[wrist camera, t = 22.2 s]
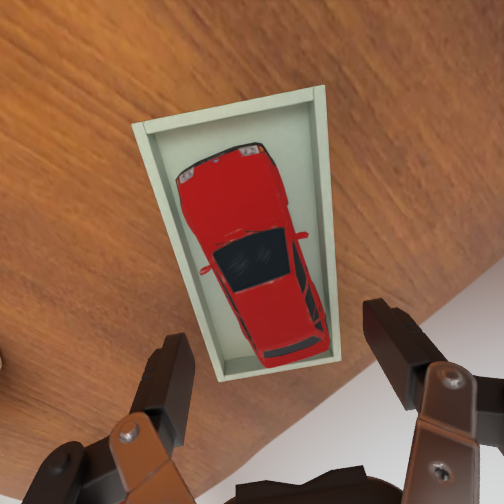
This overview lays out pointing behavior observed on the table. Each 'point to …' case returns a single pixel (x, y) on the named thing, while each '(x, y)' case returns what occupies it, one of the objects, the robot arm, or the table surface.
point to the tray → (300, 206)
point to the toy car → (255, 252)
